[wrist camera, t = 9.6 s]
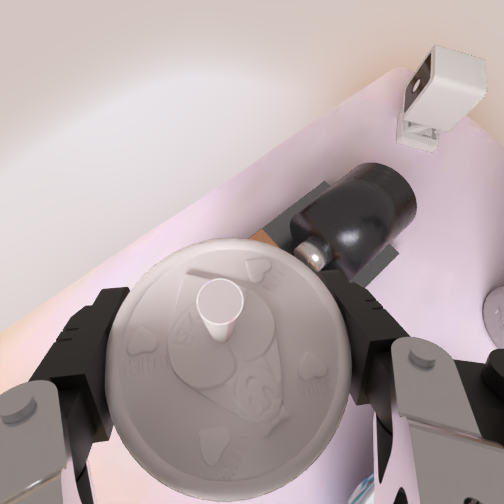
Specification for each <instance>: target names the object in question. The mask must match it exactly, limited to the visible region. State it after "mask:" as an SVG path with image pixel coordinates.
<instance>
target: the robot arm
mask: <svg viewBox="0 0 504 504" xmlns="http://www.w3.org/2000/svg"><path fill="white" fill-rule="evenodd" d="M316 275H317V276H318V277H319V278H320V280H321V281H322V282H323V283H324V285H325V286H326V287H327V289H328V290H329V292H330V293H331V295H332V296H333V298H334V300H335V302H336V303H337V305H338V307H339V310H340V312H341V314H342V317H343V319H344V322H345V325H346V329H347V333H348V338H349V343H350V348H351V359H352V375H351V384H350V391H349V392H350V394H351V396H352V398H353V400H354V402H355V404H356V405H363V404H371V405H372V407H373V409H374V411H375V413H374V417H373V449H374V488H375V490H374V504H504V286H501V287H498V288H495V289H494V290H493V291H491V292H490V294H489V295H488V296H487V298H486V300H485V303H484V309H483V314H484V322H485V325H486V329H487V331H488V333H489V335H490V337H491V339H492V340H493V342H494V343H495V345H496V346H497V347H498V348H499V349H496V350H493V351H492V352H491V353H490V354H489V356H488V359H487V361H486V363H485V364H483V363H476V362H468V361H461V360H454V359H452V358H451V356H450V355H449V354H448V353H447V352H446V351H445V350H443V349H442V348H441V347H439V346H437V345H436V344H434V343H432V342H429V341H427V340H424V339H420V338H415V337H410V336H409V334H408V333H407V332H406V331H405V330H404V329H403V328H402V327H401V326H400V325H399V324H398V323H397V321H396V320H395V319H394V318H393V317H392V316H391V315H390V314H389V313H388V312H387V311H386V310H385V309H383V306H382V305H381V304H380V303H379V302H378V301H376V299H375V298H374V297H373V295H372V294H371V293H370V292H369V291H368V290H367V289H365V288H363V287H362V286H360V285H358V284H356V283H355V282H352V283H350V282H349V281H348V280H347V279H346V278H345V277H344V275H343V274H342V273H341V272H340V271H339V270H330V271H318V272H316ZM129 292H130V290H129V288H128V287H121V288H109V289H102V290H101V292H100V293H99V295H98V297H97V298H96V300H95V302H94V303H93V305H91V306H85V307H83V308H82V309H81V310H79V311H78V312H77V313H76V314H74V315H73V316H72V317H71V318H70V320H69V321H68V323H67V324H66V326H65V327H64V329H63V332H61V333H60V335H59V336H58V338H57V339H56V342H55V343H54V344H53V345H52V347H51V348H50V350H49V351H48V353H47V354H46V356H45V357H44V359H43V360H42V362H41V363H40V365H39V366H38V368H37V369H36V371H35V372H34V374H33V375H32V377H31V378H30V380H29V381H28V382H26V383H23V384H20V385H18V386H16V387H13V388H11V389H9V390H8V391H6V392H4V393H3V394H1V395H0V504H97V500H96V495H95V490H94V485H93V480H92V474H91V469H90V465H89V462H88V459H87V458H88V455H89V452H90V449H91V446H92V443H95V442H102V441H109V438H110V435H111V432H112V428H113V425H114V423H113V421H112V418H111V415H110V412H109V408H108V404H107V399H106V394H105V363H106V349H107V342H108V338H109V334H110V331H111V328H112V325H113V322H114V320H115V318H116V315H117V313H118V311H119V309H120V307H121V305H122V303H123V302H124V300H125V298H126V297H127V295H128V294H129Z"/></svg>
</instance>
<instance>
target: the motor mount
mask: <svg viewBox="0 0 504 504" xmlns="http://www.w3.org/2000/svg"><path fill="white" fill-rule="evenodd" d="M416 210H417V203H416V198H415V195H414V192H413V190H412V188H411V187H410V185H409V184H408V182H407V181H406V180H405V179H404V178H403V177H402V176H401V175H400V174H399V173H398V172H396V171H395V170H393V169H392V168H390V167H388V166H385V165H382V164H378V163H364V164H361V165H359V166H357V167H355V168H354V169H353V170H352V171H350V172H349V173H348V174H346V175H345V176H344V177H343V178H341V179H340V180H339V181H337V182H336V183H335V184H334V185H332V186H330V185H329V184H327V183H326V182H325V181H324V182H323V183H321V184H320V185H319V186H317V187H316V188H315V189H314V190H312V191H311V192H310V193H308V194H307V195H306V196H304V197H303V198H302V199H300V200H299V201H298V202H296V203H295V204H294V205H293V206H291V207H290V208H289V209H287V210H286V211H285V212H283V213H282V214H281V215H279V216H278V217H277V218H276V219H274V220H273V221H272V222H270V223H269V224H268V225H266V226H265V227H264V228H262V229H261V230H259V231H258V232H257V233H255V234H254V235H253V236H251V237H250V238H249V239H250V240H256V241H260V242H264V243H267V244H270V245H272V246H275V247H277V248H279V249H282V250H284V251H286V252H287V253H289V254H291V255H293V256H294V257H296V258H297V259H298V260H300V261H301V262H303V263H304V264H305V265H306V266H307V267H309V268H310V269H311V270H312V271H313V272H314V273H315V274H316V272H318V271H330V270H339V271H340V272H341V273H342V274H343V275H344V277H345V278H346V279H347V280H348V281H349V282H350V283H352V282H355V283H356V284H358V285H360V286H362V287H363V288H365V287H366V286H367V285H368V284H369V283H370V282H371V281H372V280H373V279H374V278H375V277H376V276H377V275H378V274H379V273H380V272H381V271H382V270H383V269H384V268H385V267H386V266H387V265H388V264H389V263H390V262H391V261H392V260H393V259H394V258H395V257H396V256H397V255H398V254H399V253H398V252H397V251H396V250H395V249H394V248H393V247H392V246H391V245H390V244H389V243H390V242H391V241H392V240H393V239H394V238H395V237H397V236H398V235H399V234H400V233H401V232H402V231H403V230H404V229H405V228H406V227H407V226H408V225H409V224H410V223H411V222H412V221H413V219H414V217H415V215H416Z"/></svg>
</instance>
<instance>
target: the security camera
mask: <svg viewBox="0 0 504 504" xmlns="http://www.w3.org/2000/svg"><path fill="white" fill-rule="evenodd" d="M486 92H487V79H486V64H485V59H481V58H479V57H475V56H472V55H468V54H465V53H461V52H458V51H455V50H451V49H447V48H444V47H441V46H437V45H434V46H433V47H432V48H431V50H430V51H429V53H428V54H427V56H426V57H425V59H424V60H423V62H422V63H421V65H420V66H419V67H418V69H417V70H416V72H415V73H414V75H413V76H412V78H411V79H410V80H409V82H408V83H407V85H406V87H405V89H404V94H403V106H402V111H401V113H400V114H399V115H398V124H397V135H396V142H397V143H399V144H402V145H406V146H409V147H413V148H416V149H420V150H423V151H427V152H430V153H432V152H433V151H434V150H435V149H436V148H437V147H438V146H439V134H437V132H439V130H441V131H444V132H446V133H447V132H449V131H450V130H451V129H452V128H453V127H454V126H455V125H456V124H457V123H458V122H459V121H460V120H461V119H462V118H464V117H465V116H466V115H467V113H468V112H470V111H471V110H472V108H473V107H475V106H476V105H477V104H478V103H479V102H480V101H481V100H482V99H483V98H484V96H485V94H486ZM423 134H425V135H426V136H429V137H424V136H423Z"/></svg>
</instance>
